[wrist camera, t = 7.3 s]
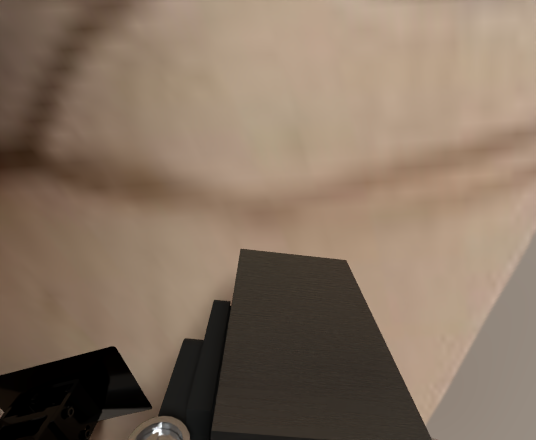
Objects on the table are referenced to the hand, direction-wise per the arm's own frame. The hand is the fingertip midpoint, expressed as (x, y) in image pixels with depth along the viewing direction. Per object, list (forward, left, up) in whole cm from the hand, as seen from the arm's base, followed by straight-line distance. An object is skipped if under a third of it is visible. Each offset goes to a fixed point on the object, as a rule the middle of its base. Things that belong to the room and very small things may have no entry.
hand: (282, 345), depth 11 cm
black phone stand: (+12, -12, -7) cm, 18 cm away
